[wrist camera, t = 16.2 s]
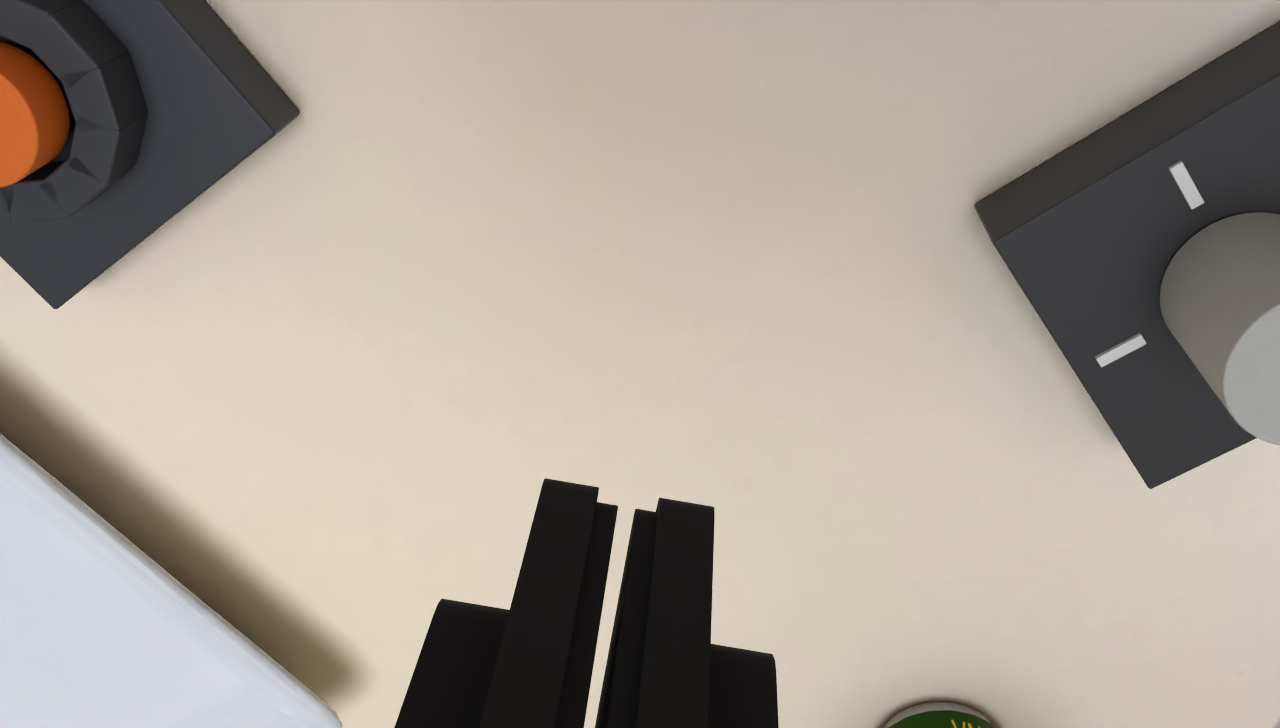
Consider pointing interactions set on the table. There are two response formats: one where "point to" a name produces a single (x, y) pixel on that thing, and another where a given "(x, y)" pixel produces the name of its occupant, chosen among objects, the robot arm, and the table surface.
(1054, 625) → the table surface
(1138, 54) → the table surface
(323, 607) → the table surface
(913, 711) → the guarana soda can
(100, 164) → the button block
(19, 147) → the button
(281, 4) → the table surface
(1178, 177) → the panel
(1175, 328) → the timer knob
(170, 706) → the tray
